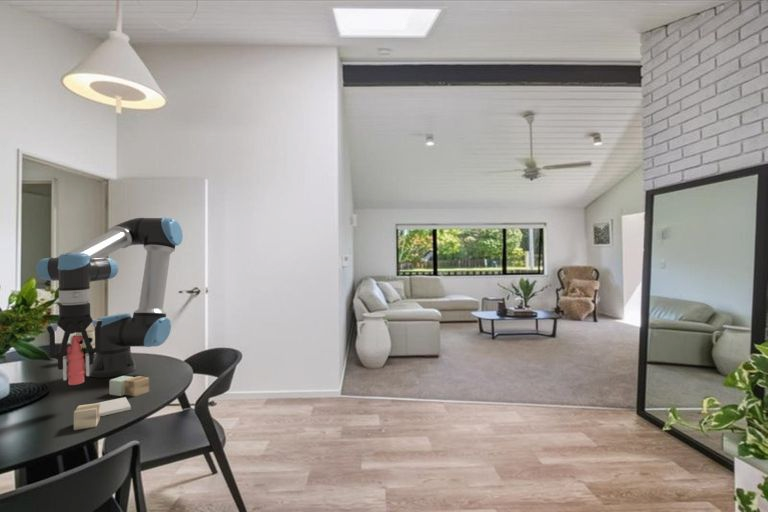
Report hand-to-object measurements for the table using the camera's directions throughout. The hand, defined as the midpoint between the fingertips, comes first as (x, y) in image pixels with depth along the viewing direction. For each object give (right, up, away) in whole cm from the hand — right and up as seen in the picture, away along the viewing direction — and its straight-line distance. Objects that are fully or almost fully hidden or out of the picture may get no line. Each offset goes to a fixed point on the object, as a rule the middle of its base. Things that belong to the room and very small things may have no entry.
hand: (76, 376), depth 119 cm
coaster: (+11, -10, 0) cm, 14 cm away
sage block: (+5, -10, +13) cm, 17 cm away
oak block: (+11, -10, +13) cm, 19 cm away
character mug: (-37, -9, +51) cm, 64 cm away
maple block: (+12, -10, -11) cm, 19 cm away
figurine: (0, -2, 0) cm, 2 cm away
